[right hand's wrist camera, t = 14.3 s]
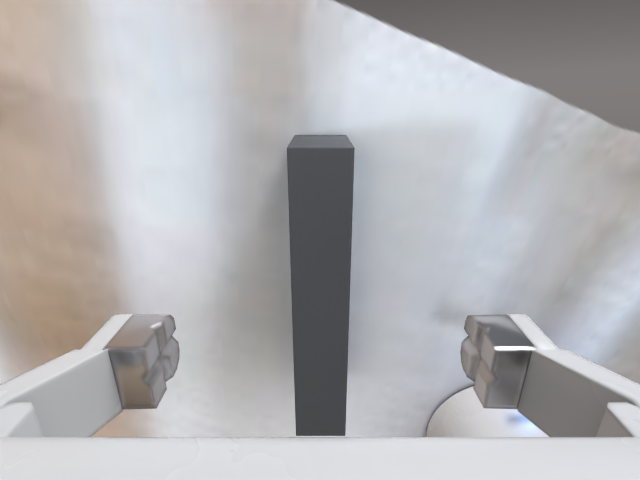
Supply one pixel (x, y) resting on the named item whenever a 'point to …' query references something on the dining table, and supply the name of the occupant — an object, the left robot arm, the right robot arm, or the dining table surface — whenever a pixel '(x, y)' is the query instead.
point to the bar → (320, 278)
